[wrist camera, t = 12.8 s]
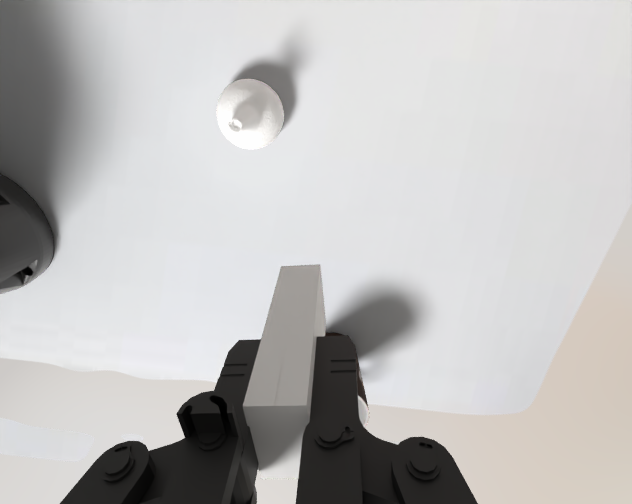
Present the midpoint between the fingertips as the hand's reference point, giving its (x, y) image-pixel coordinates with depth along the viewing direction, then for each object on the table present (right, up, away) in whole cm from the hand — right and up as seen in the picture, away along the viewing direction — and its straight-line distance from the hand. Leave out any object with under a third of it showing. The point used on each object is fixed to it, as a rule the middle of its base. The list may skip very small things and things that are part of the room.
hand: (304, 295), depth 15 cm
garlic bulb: (-6, +15, +23) cm, 28 cm away
